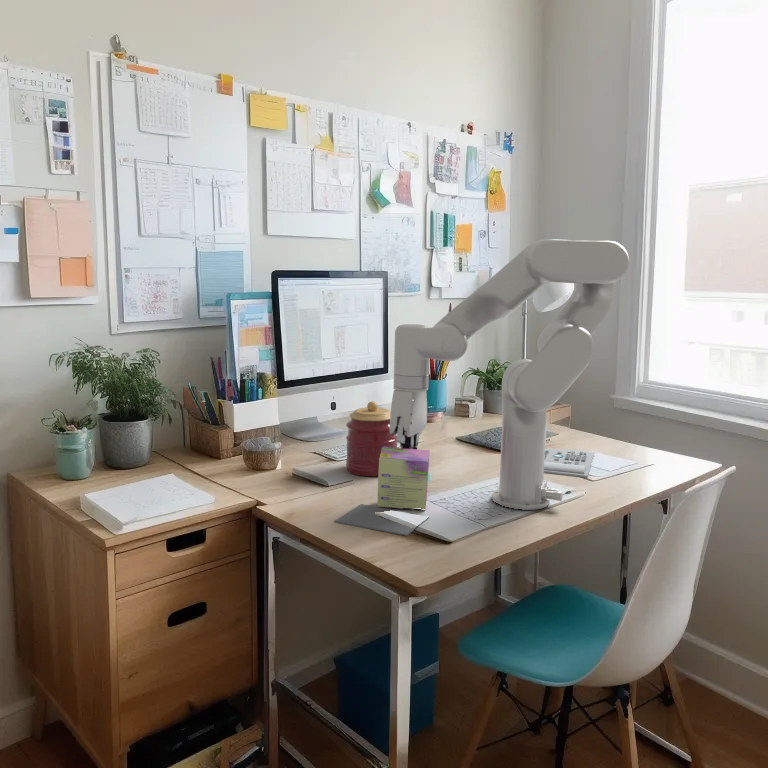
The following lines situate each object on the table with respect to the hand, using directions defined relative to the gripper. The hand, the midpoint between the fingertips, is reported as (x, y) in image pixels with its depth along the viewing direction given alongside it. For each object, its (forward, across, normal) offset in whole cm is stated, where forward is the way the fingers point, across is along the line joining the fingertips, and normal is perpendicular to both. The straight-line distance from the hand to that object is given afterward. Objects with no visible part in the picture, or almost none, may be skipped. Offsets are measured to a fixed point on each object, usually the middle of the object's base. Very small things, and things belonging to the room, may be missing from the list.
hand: (408, 464), depth 159 cm
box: (+8, +4, 0) cm, 9 cm away
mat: (+8, +13, 0) cm, 16 cm away
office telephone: (+9, -48, +21) cm, 53 cm away
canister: (+9, -17, -18) cm, 26 cm away
